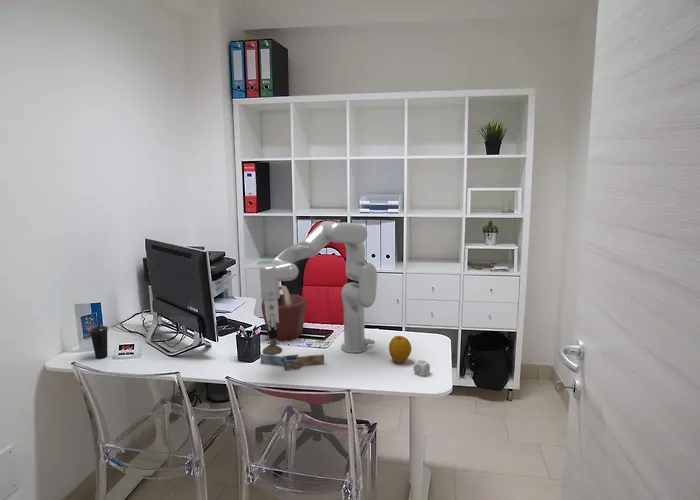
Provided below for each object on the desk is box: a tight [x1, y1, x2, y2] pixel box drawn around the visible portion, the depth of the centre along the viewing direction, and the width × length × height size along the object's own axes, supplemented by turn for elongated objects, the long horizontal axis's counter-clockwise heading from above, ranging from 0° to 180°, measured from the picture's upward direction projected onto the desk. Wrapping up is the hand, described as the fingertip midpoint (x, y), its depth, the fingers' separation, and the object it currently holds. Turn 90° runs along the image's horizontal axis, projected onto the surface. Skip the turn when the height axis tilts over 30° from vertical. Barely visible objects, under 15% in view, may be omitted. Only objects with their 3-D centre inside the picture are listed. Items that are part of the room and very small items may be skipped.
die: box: [413, 359, 431, 377], centre depth 209 cm, size 5×5×5 cm
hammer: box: [259, 353, 325, 371], centre depth 221 cm, size 27×11×4 cm, turn 102°
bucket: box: [261, 285, 308, 342], centre depth 255 cm, size 24×22×25 cm
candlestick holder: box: [262, 337, 283, 355], centre depth 234 cm, size 9×9×30 cm
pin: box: [268, 321, 278, 346], centre depth 209 cm, size 3×3×10 cm
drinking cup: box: [88, 314, 109, 360], centre depth 230 cm, size 8×8×20 cm
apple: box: [388, 335, 412, 364], centre depth 221 cm, size 10×10×12 cm
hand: (272, 336), depth 209 cm, fingers closed on pin, 3 cm apart
